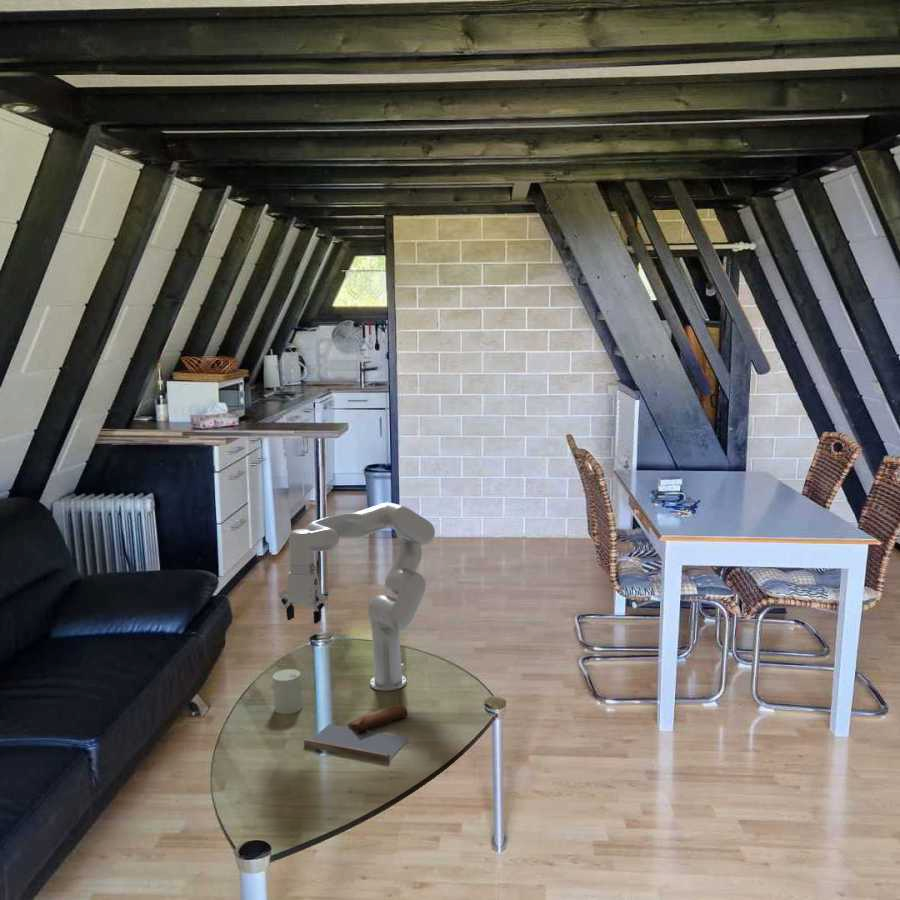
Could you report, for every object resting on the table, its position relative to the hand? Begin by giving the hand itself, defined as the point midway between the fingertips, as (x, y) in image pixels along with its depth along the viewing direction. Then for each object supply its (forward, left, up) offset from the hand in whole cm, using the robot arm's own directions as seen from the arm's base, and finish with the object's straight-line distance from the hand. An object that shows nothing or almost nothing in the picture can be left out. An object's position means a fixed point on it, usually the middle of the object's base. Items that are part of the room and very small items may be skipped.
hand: (304, 620), depth 264 cm
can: (-1, -8, -31) cm, 33 cm away
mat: (+12, +25, -31) cm, 41 cm away
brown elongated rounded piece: (-1, +25, -31) cm, 40 cm away
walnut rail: (+19, +25, -31) cm, 44 cm away
